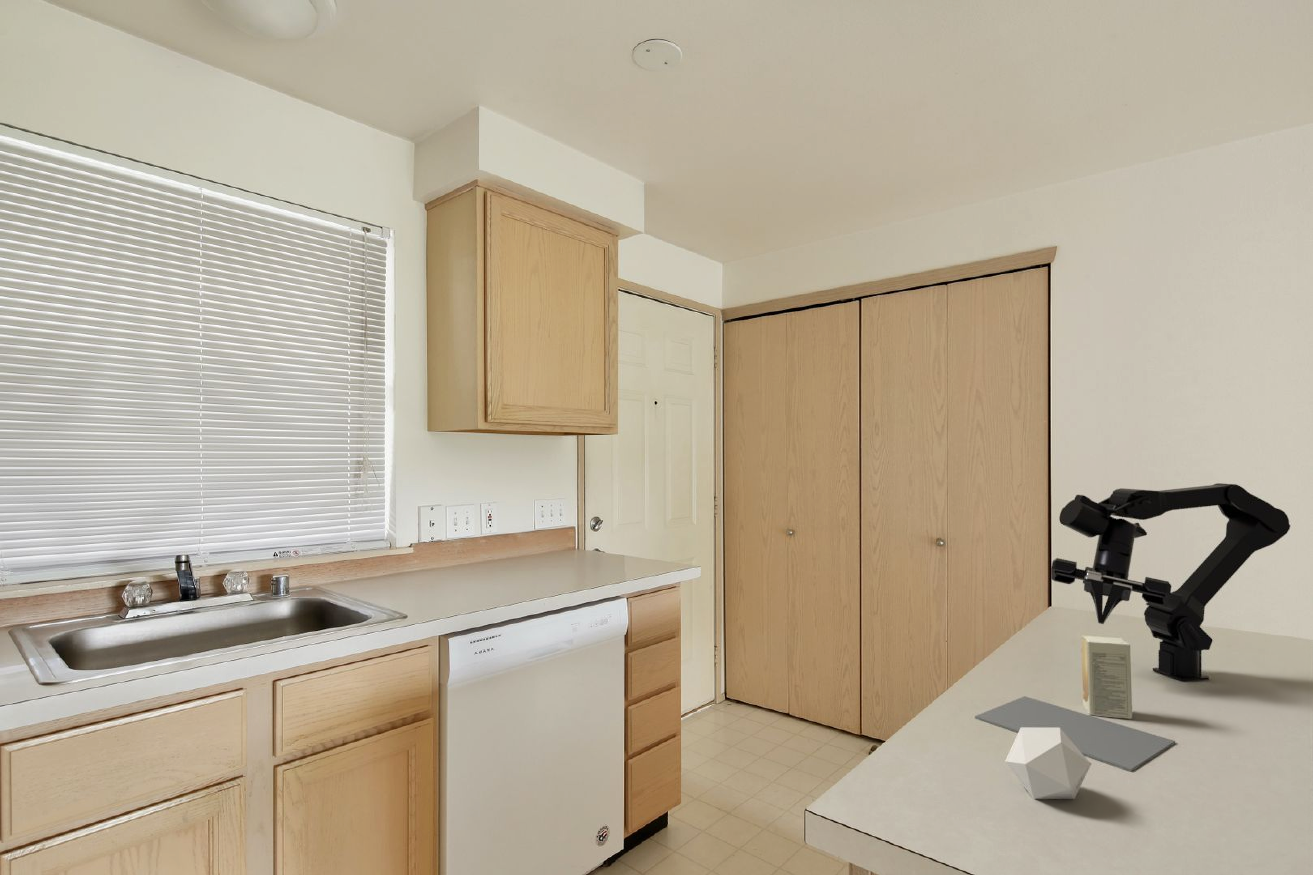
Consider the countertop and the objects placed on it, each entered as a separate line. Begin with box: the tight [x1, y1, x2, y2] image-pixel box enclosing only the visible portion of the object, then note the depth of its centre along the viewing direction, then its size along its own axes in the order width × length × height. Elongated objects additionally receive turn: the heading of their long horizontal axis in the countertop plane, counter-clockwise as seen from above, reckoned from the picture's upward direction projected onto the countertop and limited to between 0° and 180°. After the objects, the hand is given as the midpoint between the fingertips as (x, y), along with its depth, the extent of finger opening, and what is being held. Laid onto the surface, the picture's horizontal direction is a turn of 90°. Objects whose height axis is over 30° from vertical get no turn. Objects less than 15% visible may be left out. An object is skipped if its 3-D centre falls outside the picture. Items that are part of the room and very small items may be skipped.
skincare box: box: [1081, 635, 1133, 720], centre depth 113 cm, size 6×4×12 cm
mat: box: [974, 696, 1176, 772], centre depth 106 cm, size 16×22×1 cm
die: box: [1004, 727, 1092, 800], centre depth 86 cm, size 8×9×10 cm
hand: (1100, 622), depth 126 cm, fingers closed
